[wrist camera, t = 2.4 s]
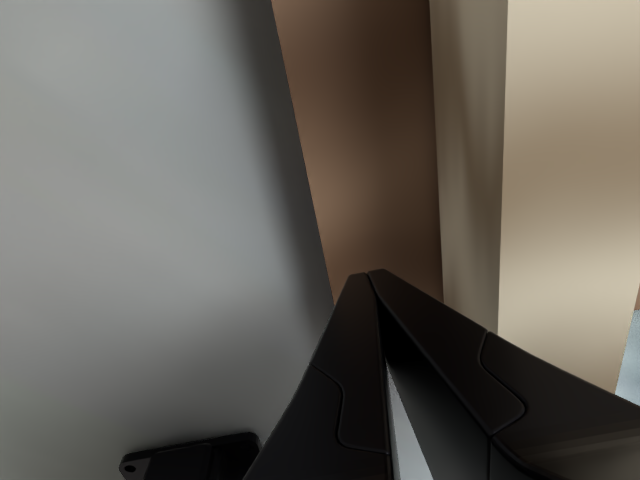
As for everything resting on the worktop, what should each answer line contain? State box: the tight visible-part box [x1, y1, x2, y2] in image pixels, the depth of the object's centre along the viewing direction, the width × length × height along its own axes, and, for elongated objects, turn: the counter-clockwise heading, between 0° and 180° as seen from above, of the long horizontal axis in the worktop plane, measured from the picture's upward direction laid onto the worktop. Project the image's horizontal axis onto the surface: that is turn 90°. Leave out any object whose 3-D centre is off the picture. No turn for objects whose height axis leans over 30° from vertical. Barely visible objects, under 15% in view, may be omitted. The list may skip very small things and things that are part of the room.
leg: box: [429, 0, 640, 394], centre depth 8 cm, size 13×3×4 cm, turn 11°
